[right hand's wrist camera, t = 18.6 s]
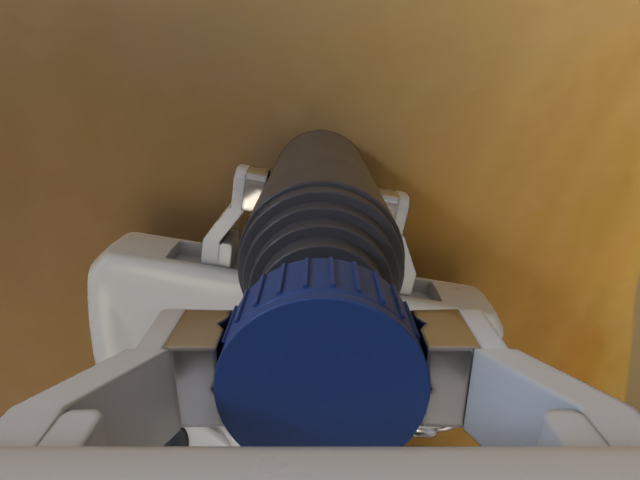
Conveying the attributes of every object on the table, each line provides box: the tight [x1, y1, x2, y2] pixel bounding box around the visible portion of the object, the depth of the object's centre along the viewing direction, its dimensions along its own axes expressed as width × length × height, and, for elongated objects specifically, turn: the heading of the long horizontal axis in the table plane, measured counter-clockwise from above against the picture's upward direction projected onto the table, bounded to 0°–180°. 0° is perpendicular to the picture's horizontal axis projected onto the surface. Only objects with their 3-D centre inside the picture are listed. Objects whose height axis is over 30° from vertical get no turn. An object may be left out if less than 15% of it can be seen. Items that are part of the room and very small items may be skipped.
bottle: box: [237, 130, 405, 295], centre depth 17 cm, size 5×5×18 cm
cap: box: [213, 257, 431, 446], centre depth 9 cm, size 4×4×2 cm
